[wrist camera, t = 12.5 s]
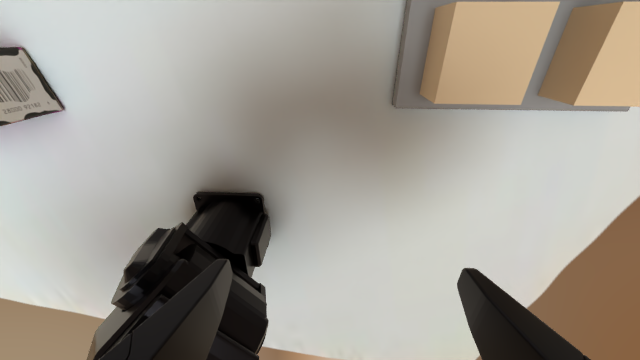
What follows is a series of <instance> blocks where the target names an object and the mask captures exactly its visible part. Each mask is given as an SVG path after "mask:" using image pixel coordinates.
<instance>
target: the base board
mask: <svg viewBox="0 0 640 360" xmlns="http://www.w3.org/2000/svg"><path fill="white" fill-rule="evenodd" d="M392 105H393V106H394V107H395V108H419V109H489V110H559V111H628V110H629V108H630V107H631V106H638V107H640V0H407V2H406V9H405V16H404V24H403V31H402V38H401V45H400V52H399V59H398V66H397V74H396V81H395V88H394V95H393V102H392Z"/></svg>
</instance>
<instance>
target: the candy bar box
mask: <svg viewBox="0 0 640 360" xmlns="http://www.w3.org/2000/svg"><path fill="white" fill-rule="evenodd" d="M62 110H63V108H62V106H61V104H60V103H59V101H58V100H57V98H56V97H55V95H54V94H53V92H52V91H51V89H50V88H49V86H48V85H47V83H46V82H45V80H44V79H43V77H42V75H41V74H40V72H39V71H38V69H37V67H36V66H35V64H34V63H33V61H32V60H31V59H30V57H29V56H28V55H27V53H26V52H25V50H24V49H23V48H21V47H10V48H0V126H3V125H7V124H11V123H15V122H19V121H22V120H26V119H30V118H34V117H38V116H42V115H46V114H50V113H55V112H59V111H62Z"/></svg>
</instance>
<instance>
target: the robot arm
mask: <svg viewBox="0 0 640 360" xmlns="http://www.w3.org/2000/svg"><path fill="white" fill-rule="evenodd" d="M199 197H200V198H201V199H200V198H199ZM256 198H258V199H259V200H256ZM193 199H194V202H195V206H196V209H197V211H196V213H195V214H194V215H193V217H192V218H191V219H190V220H189V222H188V223H187V224H186V225H185V224H184V223H183V222H181V223H180V224H179V225H178V226H176V227H175V228H174V227H173V228H172V229H161V228H158V229H157V230H155V231H154V232H153V233H152V234H151V235H150V236H149V237H148V238H147V240H146V241H145V242H144V243H143V244H142V245H141V246H140V247H139V249H138V250H137V251H136V252H135V254H134V255H133V257H132V258H131V260H130V261H129V263H128V264H127V266H126V267H125V269H124V275H123V277H122V279H121V281H120V283H119V286H118V288H117V290H116V292H115V295H114V297H113V299H112V301H111V304H113V305H115V306H117V307H116V308H115V309H114V310H113V312H112V313H111V314H110V315H109V316H108V317H107V318H106V319H105V321H104V322H103V323H102V324H101V325H100V326H99V327H98V329H97V330H96V332H95V335H94V338H93V341H92V344H91V347H90V351H89V354H88V357H87V360H259V356H258V355H257V354H258V352H259V350H260V348H261V347H262V344H263V342H264V339H265V336H266V331H267V327H268V319H267V315H266V306H267V304H266V293H265V287H264V286H263V285H262V284H261V283H260V284H259V283H257V282H256V281H255V280H253V279H252V278H251V277H252V274H253V271H254V268H255V267H260V266H261V265H262V262H263V259H264V256H265V253H266V249H267V247H268V245H269V240H270V237H271V231H270V223H269V216H268V215H267V214H265V206H264V198H263V196H262V195H261V194H253V193H216V192H197V193H196V194H195V195H194V197H193ZM457 288H458V291H459V295H460V298H461V301H462V305H463V308H464V311H465V315H466V318H467V322H468V325H469V328H470V331H471V333H472V336H473V338H474V341H475V343H476V346H477V348H478V350H479V353H480V355H481V357H482V360H590V359H589V358H588V357H587V356H585V355H583V354H582V353H581V352H580V351H579V350H578V349H576V348H575V347H574V346H573V345H571V344H570V343H569V342H568V341H566V340H565V339H564V338H563V337H561V336H560V335H559V334H557V333H556V332H555V331H554V330H553V329H551V328H550V327H549V326H548V325H546V324H545V323H544V322H542V321H541V320H540V319H539V318H537V317H536V316H535V315H534V314H532V313H531V312H530V311H529V310H527V309H526V308H525V307H524V306H522V305H521V304H520V303H519V302H517V301H516V300H515V299H514V298H512V297H511V296H510V295H508V294H507V293H506V292H505V291H503V290H502V289H501V288H500V287H498V286H497V285H496V284H495V283H493V282H492V281H491V280H490V279H488V278H487V277H486V276H485V275H483V274H482V273H481V272H480V271H478V270H477V269H475V268H464V269H463V270H462V272H461V275H460V277H459V280H458V283H457Z"/></svg>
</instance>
